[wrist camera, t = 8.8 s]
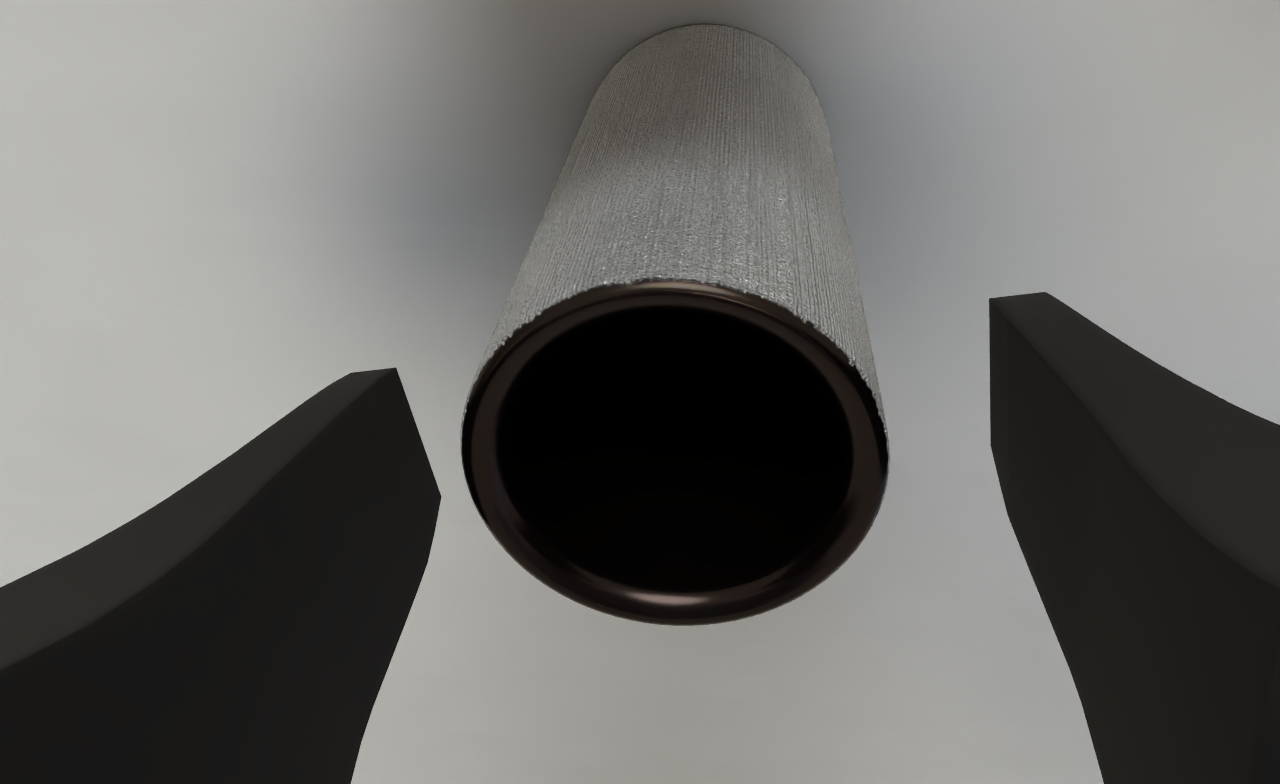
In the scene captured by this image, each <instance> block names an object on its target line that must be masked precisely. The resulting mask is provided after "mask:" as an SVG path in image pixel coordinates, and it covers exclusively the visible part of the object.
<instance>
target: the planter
mask: <svg viewBox="0 0 1280 784" xmlns="http://www.w3.org/2000/svg"><path fill="white" fill-rule="evenodd" d="M461 456H462V464H463V469H464V474H465V478H466V482H467V485H468V489H469V492H470V494H471V497H472V499H473V502H474V504H475V506H476V508H477V510H478V512H479V514H480V516H481V518H482V519H483V521H484V523H485V524H486V526H487V528H488V529H489V531H490V532H491V533H492V535H493V536H494V537H495V539H496V540H497V541H498V543H499V544H500V545H501V546H502V547H503V549H504V550H505V551H506V552H507V553H508V554H509V555H510V556H511V557H512V558H513V559H514V560H515V561H516V562H517V563H518V564H519V565H520V566H521V567H523V568H524V569H525V570H526V571H527V572H529V573H530V574H531V575H532V576H534V577H535V578H536V579H538V580H539V581H541V582H542V583H543V584H545V585H546V586H548V587H549V588H551V589H553V590H554V591H556V592H558V593H559V594H561V595H563V596H565V597H567V598H569V599H571V600H573V601H575V602H577V603H579V604H582V605H584V606H586V607H589V608H591V609H594V610H597V611H599V612H602V613H606V614H609V615H612V616H615V617H619V618H624V619H628V620H632V621H638V622H643V623H651V624H659V625H673V626H694V625H709V624H718V623H724V622H730V621H736V620H740V619H744V618H748V617H752V616H755V615H758V614H762V613H765V612H767V611H770V610H773V609H775V608H778V607H780V606H782V605H785V604H787V603H789V602H791V601H793V600H795V599H797V598H799V597H801V596H802V595H804V594H806V593H807V592H809V591H810V590H812V589H814V588H815V587H817V586H818V585H819V584H821V583H822V582H823V581H825V580H826V579H827V578H829V577H830V576H831V575H832V574H833V573H834V572H836V571H837V570H838V569H839V568H840V567H841V566H842V565H843V564H844V563H845V562H846V561H847V560H848V559H849V558H850V556H851V555H852V554H853V553H854V552H855V551H856V549H857V548H858V547H859V545H860V544H861V542H862V541H863V540H864V538H865V537H866V535H867V533H868V532H869V530H870V528H871V527H872V525H873V522H874V520H875V518H876V516H877V514H878V512H879V509H880V506H881V504H882V501H883V498H884V494H885V490H886V486H887V480H888V474H889V459H890V458H889V441H888V434H887V426H886V420H885V414H884V409H883V404H882V399H881V394H880V389H879V383H878V378H877V373H876V368H875V363H874V358H873V353H872V348H871V343H870V338H869V333H868V328H867V323H866V318H865V313H864V308H863V303H862V298H861V293H860V288H859V283H858V278H857V273H856V268H855V263H854V258H853V253H852V248H851V243H850V238H849V233H848V228H847V223H846V218H845V213H844V208H843V203H842V197H841V192H840V187H839V182H838V177H837V172H836V167H835V162H834V157H833V152H832V147H831V142H830V137H829V132H828V127H827V123H826V119H825V116H824V113H823V110H822V107H821V105H820V102H819V100H818V98H817V95H816V93H815V91H814V89H813V87H812V85H811V83H810V82H809V80H808V78H807V77H806V75H805V74H804V73H803V71H802V70H801V69H800V68H799V66H798V65H797V64H796V63H795V62H794V61H793V60H792V59H791V58H790V57H789V56H788V55H787V54H786V53H784V52H783V51H782V50H781V49H779V48H778V47H777V46H775V45H774V44H772V43H770V42H769V41H767V40H765V39H763V38H761V37H759V36H757V35H755V34H753V33H750V32H747V31H745V30H741V29H737V28H734V27H728V26H721V25H707V24H703V25H691V26H684V27H680V28H675V29H672V30H668V31H665V32H663V33H660V34H658V35H655V36H653V37H651V38H649V39H647V40H646V41H644V42H642V43H641V44H639V45H638V46H636V47H635V48H633V49H632V50H631V51H629V52H628V53H627V54H626V55H625V56H624V57H623V58H622V59H621V60H620V61H619V62H618V63H617V64H616V65H615V66H614V67H613V68H612V69H611V71H610V72H609V73H608V75H607V76H606V77H605V79H604V80H603V82H602V84H601V85H600V87H599V88H598V90H597V92H596V93H595V95H594V97H593V99H592V101H591V103H590V105H589V108H588V110H587V112H586V115H585V117H584V119H583V122H582V124H581V127H580V129H579V131H578V134H577V136H576V138H575V141H574V143H573V146H572V148H571V150H570V153H569V155H568V157H567V160H566V162H565V164H564V167H563V169H562V172H561V174H560V176H559V179H558V181H557V183H556V186H555V188H554V190H553V193H552V195H551V198H550V200H549V202H548V205H547V207H546V209H545V212H544V214H543V216H542V219H541V221H540V224H539V226H538V228H537V231H536V233H535V235H534V238H533V240H532V243H531V245H530V247H529V250H528V252H527V254H526V257H525V259H524V261H523V264H522V266H521V269H520V271H519V273H518V276H517V278H516V280H515V283H514V285H513V287H512V290H511V292H510V295H509V297H508V299H507V302H506V304H505V306H504V309H503V311H502V314H501V316H500V318H499V321H498V323H497V325H496V328H495V330H494V332H493V335H492V337H491V340H490V342H489V344H488V347H487V349H486V351H485V354H484V356H483V359H482V361H481V363H480V366H479V368H478V371H477V373H476V376H475V378H474V381H473V383H472V386H471V389H470V391H469V394H468V397H467V401H466V404H465V408H464V413H463V418H462V426H461Z"/></svg>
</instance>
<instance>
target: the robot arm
mask: <svg viewBox="0 0 1280 784" xmlns="http://www.w3.org/2000/svg"><path fill="white" fill-rule="evenodd" d="M989 318H990V419H991V448H992V453H993V457H994V461H995V465H996V470H997V474H998V478H999V482H1000V486H1001V490H1002V494H1003V498H1004V502H1005V506H1006V510H1007V514H1008V517H1009V519H1010V522H1011V524H1012V527H1013V530H1014V532H1015V535H1016V537H1017V540H1018V542H1019V545H1020V547H1021V550H1022V552H1023V555H1024V557H1025V560H1026V562H1027V565H1028V567H1029V570H1030V572H1031V575H1032V577H1033V580H1034V582H1035V585H1036V587H1037V589H1038V592H1039V594H1040V597H1041V599H1042V602H1043V604H1044V607H1045V609H1046V612H1047V614H1048V617H1049V619H1050V621H1051V624H1052V626H1053V629H1054V631H1055V634H1056V636H1057V639H1058V641H1059V644H1060V646H1061V649H1062V651H1063V653H1064V656H1065V658H1066V661H1067V663H1068V666H1069V668H1070V671H1071V674H1072V677H1073V680H1074V683H1075V685H1076V688H1077V691H1078V694H1079V697H1080V700H1081V703H1082V706H1083V709H1084V713H1085V717H1086V720H1087V724H1088V727H1089V731H1090V735H1091V738H1092V742H1093V745H1094V749H1095V753H1096V756H1097V760H1098V763H1099V767H1100V770H1101V774H1102V778H1103V781H1104V784H1280V425H1278V424H1275V423H1273V422H1271V421H1268V420H1266V419H1264V418H1261V417H1259V416H1257V415H1254V414H1252V413H1250V412H1248V411H1246V410H1244V409H1242V408H1239V407H1237V406H1235V405H1233V404H1231V403H1229V402H1227V401H1225V400H1223V399H1221V398H1219V397H1218V396H1216V395H1214V394H1212V393H1210V392H1208V391H1206V390H1204V389H1202V388H1200V387H1199V386H1197V385H1195V384H1193V383H1191V382H1189V381H1187V380H1185V379H1183V378H1182V377H1180V376H1178V375H1176V374H1175V373H1173V372H1171V371H1170V370H1168V369H1166V368H1164V367H1163V366H1161V365H1159V364H1157V363H1156V362H1154V361H1152V360H1151V359H1149V358H1147V357H1146V356H1144V355H1143V354H1141V353H1139V352H1138V351H1136V350H1135V349H1133V348H1131V347H1130V346H1128V345H1126V344H1125V343H1123V342H1122V341H1120V340H1119V339H1117V338H1116V337H1114V336H1112V335H1111V334H1109V333H1108V332H1106V331H1105V330H1103V329H1102V328H1100V327H1099V326H1097V325H1096V324H1094V323H1093V322H1091V321H1090V320H1088V319H1087V318H1085V317H1084V316H1082V315H1081V314H1079V313H1078V312H1076V311H1075V310H1073V309H1072V308H1070V307H1069V306H1067V305H1066V304H1064V303H1063V302H1061V301H1060V300H1058V299H1056V298H1055V297H1053V296H1051V295H1050V294H1048V293H1046V292H1041V293H1033V294H1024V295H1016V296H1007V297H998V298H990V299H989ZM440 501H441V495H440V492H439V489H438V486H437V483H436V480H435V477H434V475H433V472H432V469H431V466H430V463H429V460H428V457H427V455H426V452H425V449H424V446H423V443H422V440H421V437H420V435H419V432H418V429H417V426H416V423H415V420H414V417H413V415H412V412H411V409H410V406H409V403H408V400H407V397H406V395H405V392H404V389H403V386H402V383H401V380H400V377H399V375H398V372H397V369H396V368H389V369H380V370H372V371H363V372H355V373H350V374H348V375H346V376H344V377H343V378H341V379H339V380H337V381H335V382H334V383H332V384H331V385H329V386H327V387H326V388H324V389H323V390H321V391H320V392H318V393H317V394H315V395H314V396H313V397H311V398H310V399H308V400H307V401H305V402H304V403H303V404H301V405H300V406H298V407H297V408H296V409H294V410H293V411H291V412H290V413H289V414H287V415H286V416H285V417H283V418H282V419H280V420H279V421H278V422H276V423H275V424H274V425H272V426H271V427H269V428H268V429H267V430H265V431H264V432H262V433H261V434H260V435H258V436H257V437H256V438H254V439H253V440H251V441H250V442H249V443H247V444H246V445H245V446H243V447H242V448H240V449H239V450H238V451H236V452H235V453H233V454H232V455H231V456H229V457H228V458H226V459H225V460H223V461H222V462H220V463H219V464H217V465H216V466H214V467H213V468H211V469H210V470H208V471H207V472H206V473H204V474H203V475H201V476H200V477H198V478H197V479H195V480H194V481H192V482H191V483H189V484H188V485H186V486H185V487H183V488H182V489H180V490H179V491H177V492H176V493H174V494H173V495H171V496H170V497H168V498H167V499H165V500H164V501H162V502H161V503H159V504H157V505H156V506H154V507H153V508H151V509H149V510H148V511H146V512H144V513H143V514H141V515H139V516H138V517H136V518H134V519H133V520H131V521H129V522H128V523H126V524H124V525H122V526H121V527H119V528H117V529H115V530H113V531H112V532H110V533H108V534H106V535H105V536H103V537H101V538H99V539H97V540H96V541H94V542H92V543H90V544H88V545H87V546H85V547H83V548H81V549H79V550H77V551H75V552H73V553H71V554H69V555H67V556H65V557H63V558H61V559H59V560H57V561H55V562H53V563H51V564H49V565H46V566H44V567H42V568H40V569H38V570H36V571H34V572H32V573H30V574H28V575H26V576H24V577H22V578H19V579H17V580H15V581H13V582H11V583H9V584H7V585H5V586H3V587H1V588H0V784H351V780H352V776H353V772H354V768H355V764H356V760H357V757H358V753H359V749H360V745H361V741H362V738H363V735H364V732H365V729H366V726H367V723H368V720H369V717H370V714H371V711H372V708H373V705H374V703H375V700H376V698H377V695H378V692H379V690H380V687H381V685H382V682H383V679H384V677H385V674H386V672H387V669H388V667H389V664H390V661H391V659H392V656H393V654H394V651H395V648H396V646H397V643H398V641H399V638H400V635H401V633H402V630H403V628H404V625H405V622H406V620H407V617H408V615H409V612H410V609H411V607H412V604H413V601H414V599H415V596H416V593H417V590H418V588H419V585H420V582H421V580H422V577H423V574H424V571H425V568H426V566H427V563H428V558H429V554H430V550H431V545H432V541H433V537H434V532H435V527H436V522H437V516H438V511H439V506H440Z"/></svg>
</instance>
